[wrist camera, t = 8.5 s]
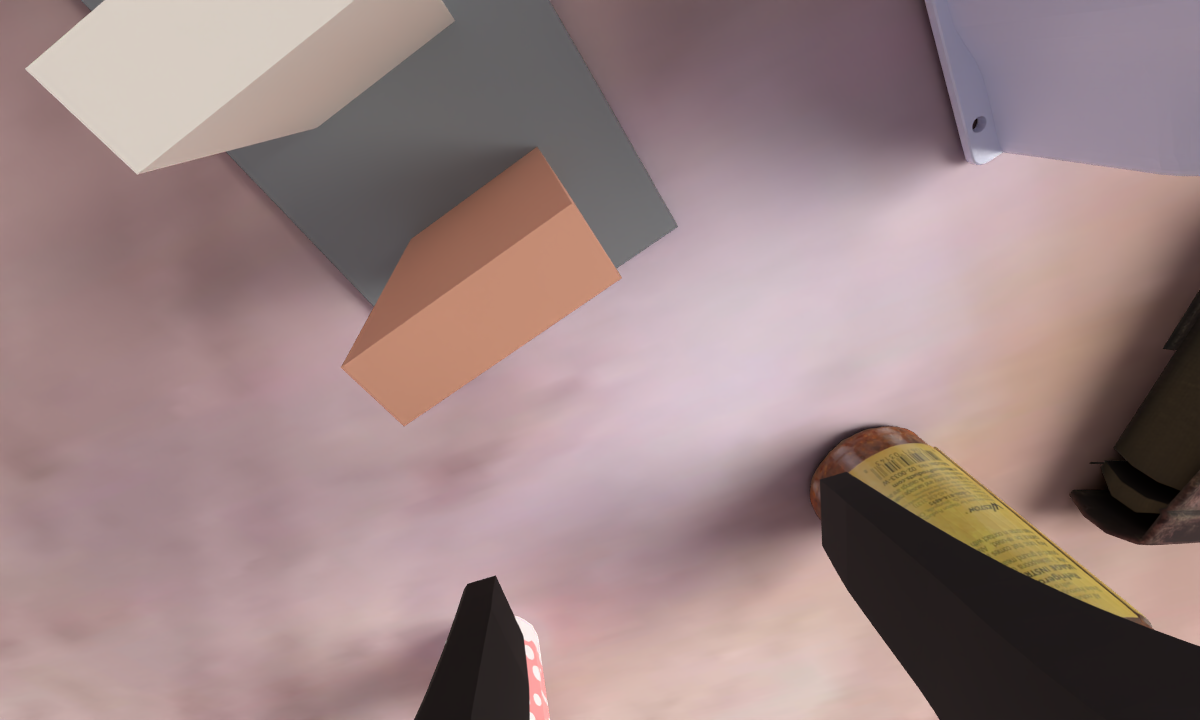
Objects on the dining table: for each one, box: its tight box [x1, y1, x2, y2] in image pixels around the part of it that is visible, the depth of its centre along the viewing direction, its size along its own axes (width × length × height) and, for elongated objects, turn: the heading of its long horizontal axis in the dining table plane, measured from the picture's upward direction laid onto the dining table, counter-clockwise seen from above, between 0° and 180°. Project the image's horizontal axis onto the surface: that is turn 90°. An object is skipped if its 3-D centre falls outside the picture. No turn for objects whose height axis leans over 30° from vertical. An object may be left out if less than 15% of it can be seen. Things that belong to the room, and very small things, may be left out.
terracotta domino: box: [341, 147, 622, 426], centre depth 14 cm, size 2×5×9 cm, turn 124°
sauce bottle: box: [810, 426, 1154, 630], centre depth 18 cm, size 6×6×20 cm
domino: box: [25, 0, 455, 175], centre depth 11 cm, size 2×5×9 cm, turn 123°
